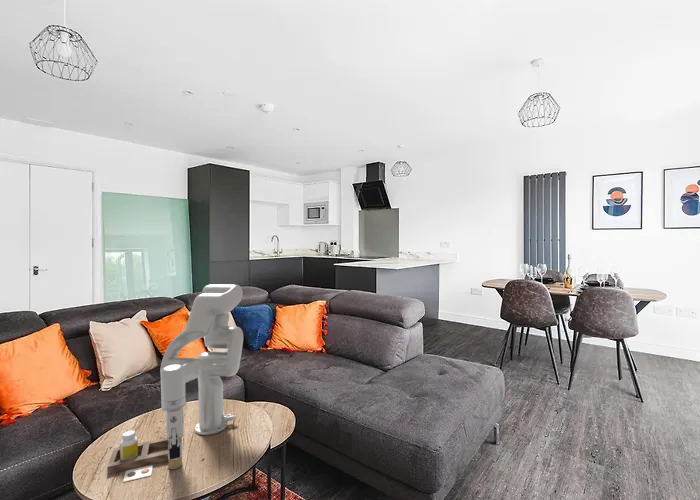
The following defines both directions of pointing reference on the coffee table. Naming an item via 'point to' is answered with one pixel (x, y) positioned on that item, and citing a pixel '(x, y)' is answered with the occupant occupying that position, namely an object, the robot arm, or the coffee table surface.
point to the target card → (138, 473)
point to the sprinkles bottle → (177, 461)
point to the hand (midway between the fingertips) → (175, 453)
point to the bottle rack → (139, 461)
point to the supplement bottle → (128, 446)
